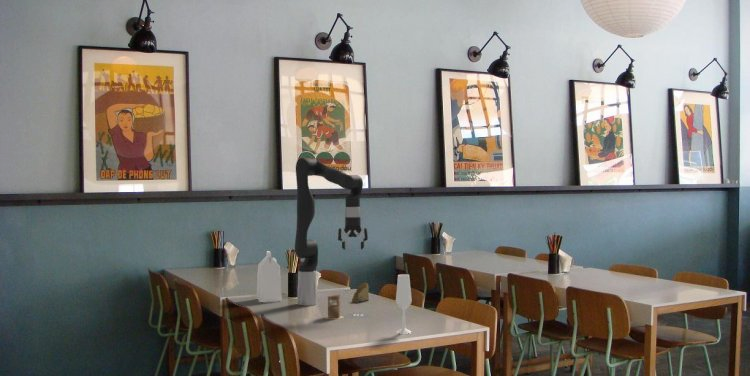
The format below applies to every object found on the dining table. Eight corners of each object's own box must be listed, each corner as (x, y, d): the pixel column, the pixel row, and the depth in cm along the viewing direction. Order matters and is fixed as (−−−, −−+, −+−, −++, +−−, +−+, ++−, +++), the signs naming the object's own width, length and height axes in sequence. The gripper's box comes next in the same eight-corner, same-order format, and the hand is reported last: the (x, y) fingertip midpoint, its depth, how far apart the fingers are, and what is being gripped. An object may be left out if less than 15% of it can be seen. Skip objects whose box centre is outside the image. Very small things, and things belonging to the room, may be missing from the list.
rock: (353, 299, 376) (371, 295, 378) (349, 284, 381) (367, 281, 383) (351, 308, 385) (369, 305, 387) (347, 294, 390) (365, 291, 392)
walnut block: (327, 318, 334) (327, 296, 334) (329, 316, 339) (329, 294, 339) (338, 318, 334) (338, 296, 334) (340, 316, 339) (340, 294, 339)
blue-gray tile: (344, 318, 336) (344, 317, 336) (347, 313, 348) (347, 312, 348) (370, 318, 335) (370, 317, 335) (372, 313, 347) (372, 312, 347)
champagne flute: (411, 330, 308) (410, 273, 308) (412, 333, 301) (412, 276, 301) (395, 330, 308) (395, 274, 308) (396, 334, 301) (396, 276, 301)
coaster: (322, 319, 333) (322, 318, 333) (325, 316, 342) (325, 315, 342) (342, 320, 332) (342, 319, 332) (344, 316, 341) (344, 315, 341)
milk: (256, 299, 392) (256, 250, 392) (277, 297, 396) (277, 250, 395) (259, 302, 381) (259, 253, 381) (281, 301, 384) (281, 252, 384)
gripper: (368, 215, 356) (368, 248, 357) (339, 215, 358) (339, 248, 358) (366, 216, 349) (366, 250, 349) (337, 216, 350) (337, 250, 350)
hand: (353, 249), depth 354 cm, fingers open, 8 cm apart
